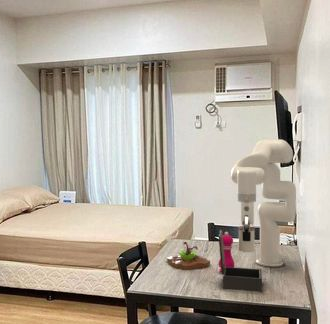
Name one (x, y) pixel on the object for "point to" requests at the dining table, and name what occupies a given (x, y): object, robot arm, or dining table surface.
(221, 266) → the lid
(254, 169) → the robot arm
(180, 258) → the plant
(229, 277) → the dark grey open box
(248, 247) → the canister
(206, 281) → the dining table surface
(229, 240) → the pepper mill
